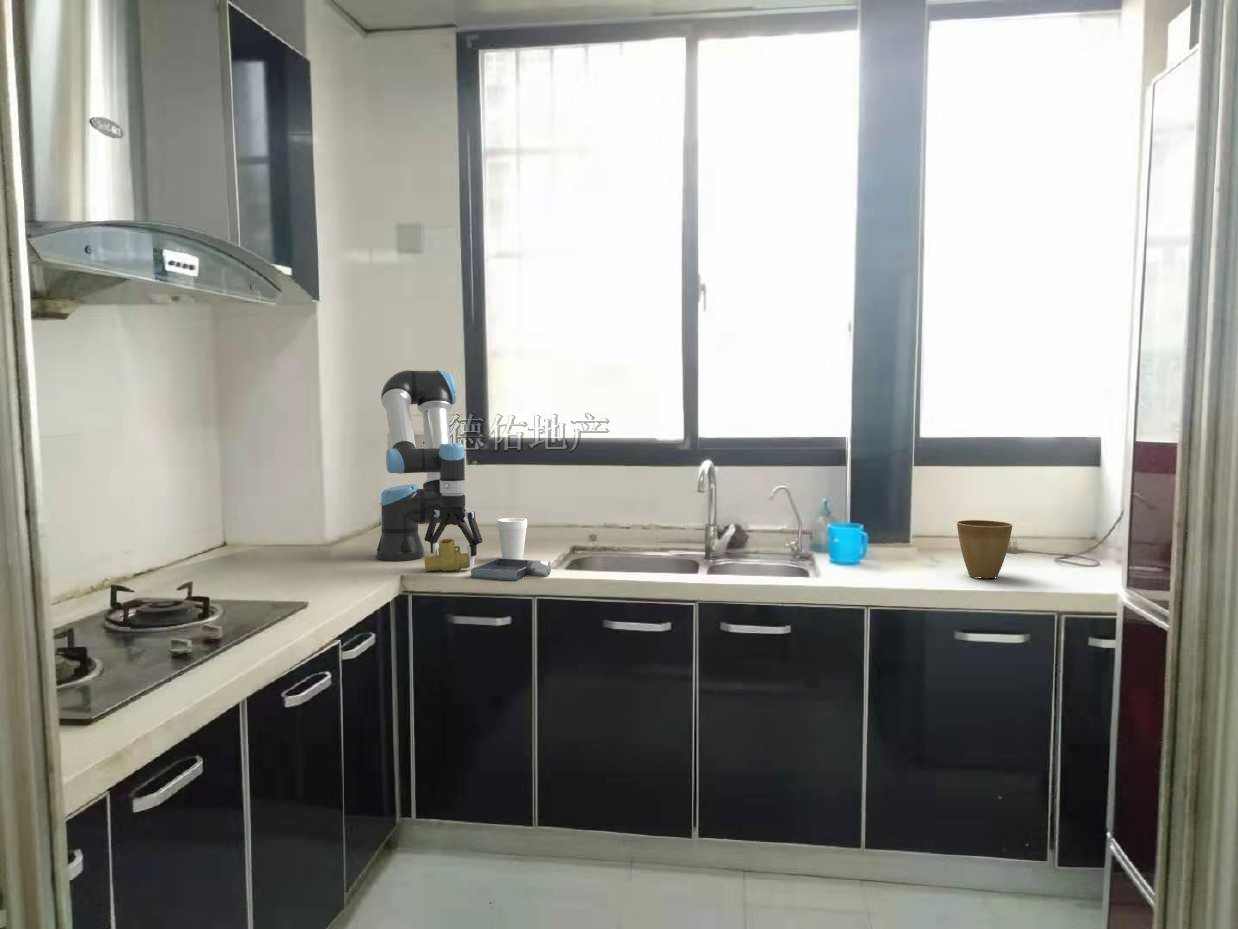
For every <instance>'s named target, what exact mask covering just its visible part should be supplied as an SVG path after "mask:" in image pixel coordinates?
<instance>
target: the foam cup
mask: <svg viewBox="0 0 1238 929" xmlns="http://www.w3.org/2000/svg"><path fill="white" fill-rule="evenodd" d="M496 523H497V529H498V534H499V543H500V550H501V551H500V552H501V556H502V557H501V558H505V559H521V560H522V559H523V560H524V552H525V543H526V534H527V528H528V519H527V518H523V517H505V518H504V517H503V518H498V519H497V521H496Z"/></svg>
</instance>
